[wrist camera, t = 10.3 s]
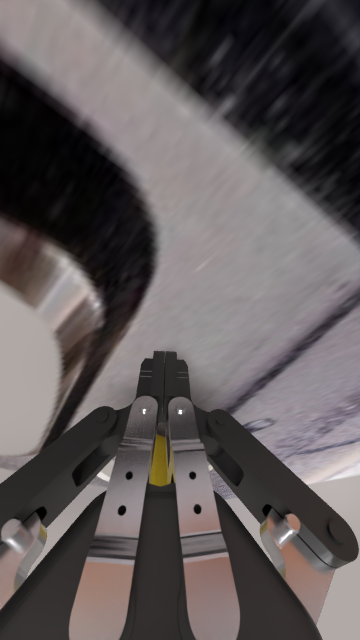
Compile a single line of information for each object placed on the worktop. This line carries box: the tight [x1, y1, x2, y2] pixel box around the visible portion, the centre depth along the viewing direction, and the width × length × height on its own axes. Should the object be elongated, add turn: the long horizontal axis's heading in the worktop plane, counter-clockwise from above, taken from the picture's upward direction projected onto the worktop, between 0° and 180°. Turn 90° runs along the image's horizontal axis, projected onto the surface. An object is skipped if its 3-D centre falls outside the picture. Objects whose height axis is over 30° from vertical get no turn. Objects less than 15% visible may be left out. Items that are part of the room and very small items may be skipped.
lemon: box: [150, 434, 167, 486], centre depth 22 cm, size 6×6×8 cm
